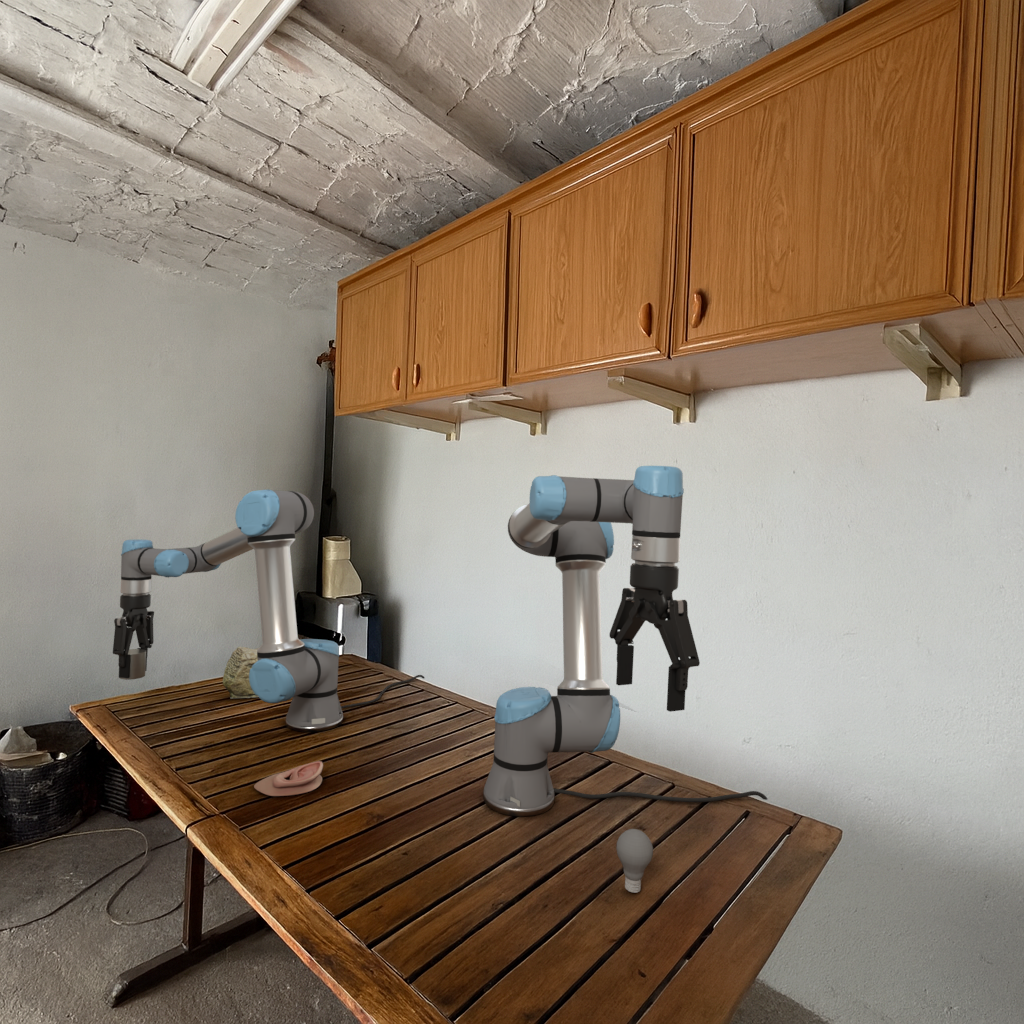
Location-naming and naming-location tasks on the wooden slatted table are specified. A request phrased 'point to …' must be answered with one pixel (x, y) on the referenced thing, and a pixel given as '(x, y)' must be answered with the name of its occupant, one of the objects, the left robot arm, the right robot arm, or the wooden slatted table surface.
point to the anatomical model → (292, 781)
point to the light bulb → (634, 857)
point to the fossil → (240, 673)
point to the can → (137, 663)
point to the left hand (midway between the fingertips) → (132, 674)
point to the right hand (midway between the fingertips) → (648, 696)
